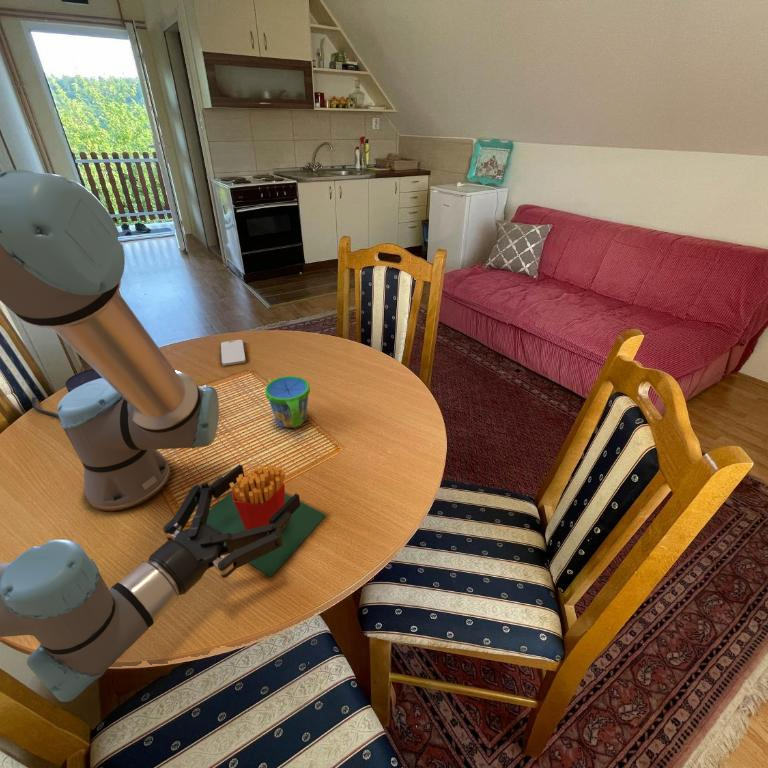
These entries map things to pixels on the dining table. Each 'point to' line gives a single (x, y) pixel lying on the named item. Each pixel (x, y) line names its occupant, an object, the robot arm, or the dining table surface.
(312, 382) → the dining table surface
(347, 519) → the dining table surface
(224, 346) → the smartphone
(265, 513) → the french fries
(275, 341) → the dining table surface
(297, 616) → the dining table surface
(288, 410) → the snack cup
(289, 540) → the green cloth
